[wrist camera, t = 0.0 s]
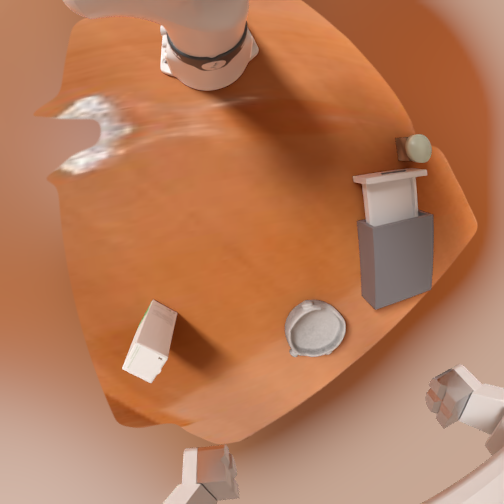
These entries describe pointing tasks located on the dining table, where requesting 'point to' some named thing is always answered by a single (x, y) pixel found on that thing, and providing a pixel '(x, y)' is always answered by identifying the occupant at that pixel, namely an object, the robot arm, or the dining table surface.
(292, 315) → the dish
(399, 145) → the walnut block
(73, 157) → the dining table surface
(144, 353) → the skincare box
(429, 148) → the pale green disc
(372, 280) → the grey drawer cabinet
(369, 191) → the white drawer
